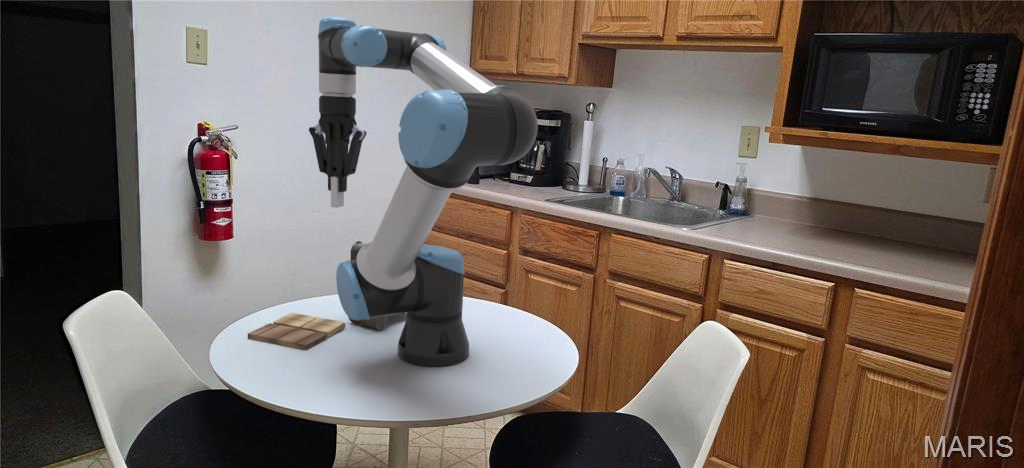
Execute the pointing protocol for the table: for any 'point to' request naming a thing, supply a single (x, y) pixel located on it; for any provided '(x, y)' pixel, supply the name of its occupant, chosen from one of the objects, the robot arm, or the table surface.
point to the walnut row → (287, 336)
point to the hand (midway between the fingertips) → (337, 206)
